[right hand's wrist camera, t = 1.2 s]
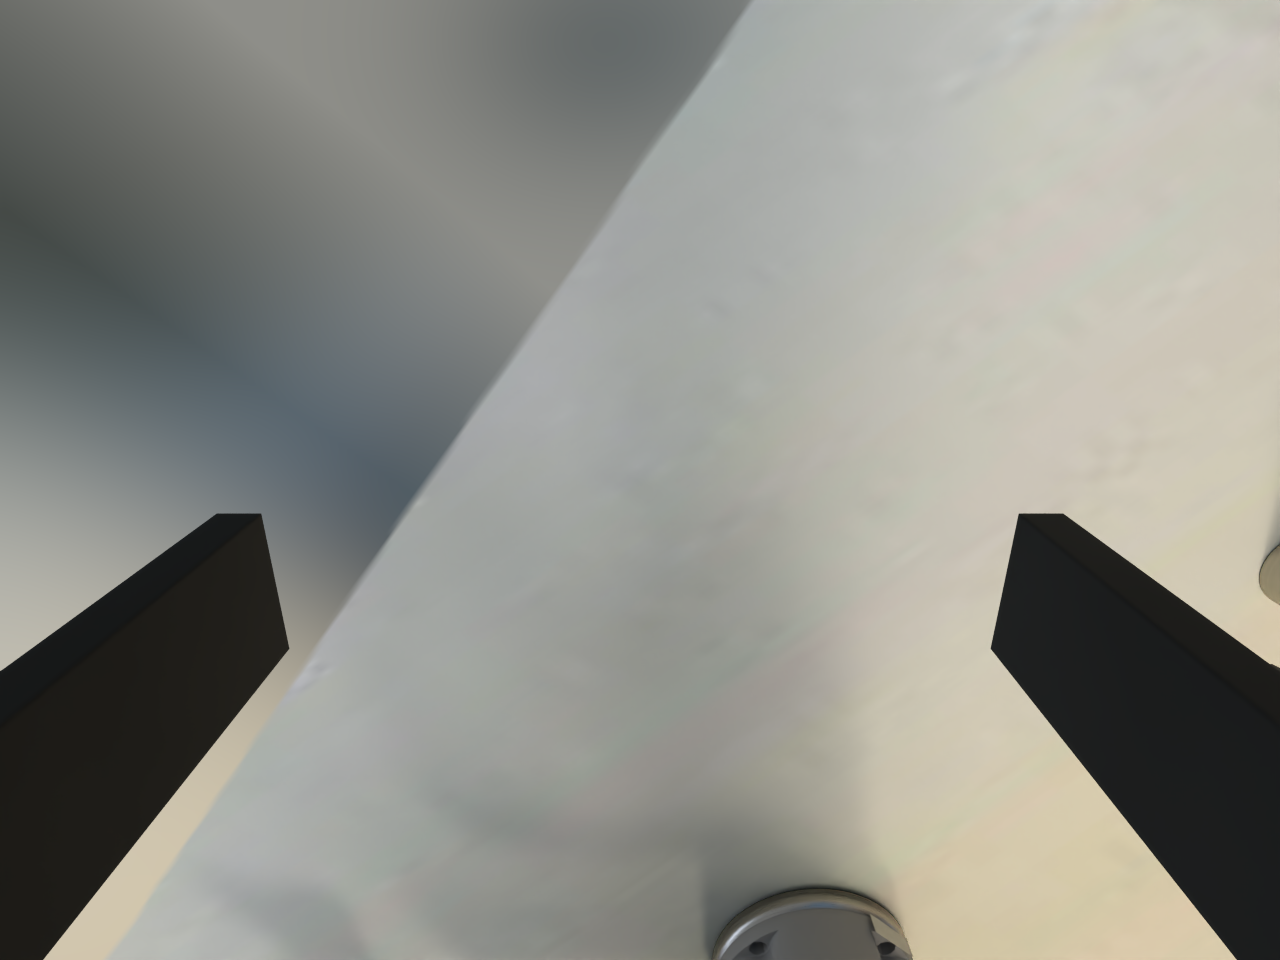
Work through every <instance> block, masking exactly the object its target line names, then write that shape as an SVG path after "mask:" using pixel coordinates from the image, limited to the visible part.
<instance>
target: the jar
mask: <svg viewBox="0 0 1280 960" xmlns="http://www.w3.org/2000/svg"><path fill="white" fill-rule="evenodd" d="M1260 586H1261V589H1262V591H1263V592H1264V594H1265V595H1266V596H1267V597H1268V598H1269V599H1271V600H1272V601H1274V602H1275V603H1277V604H1279V605H1280V545H1279V546H1278V547H1277V548H1276V549H1274V550H1273V551H1272V553H1271V554H1270V555H1269V556H1268V557H1267V559H1266V560H1265V562H1264V564H1263V566H1262V569H1261V572H1260Z"/></svg>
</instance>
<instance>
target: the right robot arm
mask: <svg viewBox="0 0 1280 960" xmlns="http://www.w3.org/2000/svg"><path fill="white" fill-rule="evenodd" d="M288 650H289V645H288V640H287V635H286V631H285V626H284V621H283V616H282V611H281V607H280V602H279V597H278V592H277V587H276V583H275V578H274V573H273V568H272V564H271V559H270V554H269V549H268V544H267V540H266V535H265V530H264V525H263V520H262V515H261V514H216V515H214V516H213V517H212V518H210V519H209V520H208V521H206V522H205V523H203V524H202V525H201V526H199V527H198V528H197V529H195V530H194V531H192V532H191V533H190V534H188V535H187V536H186V537H184V538H183V539H181V540H180V541H179V542H177V543H176V544H175V545H173V546H172V547H170V548H169V549H168V550H166V551H165V552H164V553H162V554H161V555H159V556H158V557H157V558H155V559H154V560H153V561H151V562H150V563H148V564H147V565H146V566H144V567H143V568H142V569H140V570H139V571H137V572H136V573H135V574H133V575H132V576H131V577H129V578H128V579H127V580H125V581H124V582H122V583H121V584H120V585H118V586H117V587H116V588H114V589H113V590H111V591H110V592H109V593H107V594H106V595H105V596H103V597H102V598H101V599H99V600H98V601H96V602H95V603H94V604H92V605H91V606H89V607H88V608H87V609H85V610H84V611H83V612H81V613H80V614H79V615H77V616H76V617H74V618H73V619H72V620H70V621H69V622H67V623H66V624H65V625H63V626H62V627H61V628H59V629H58V630H57V631H55V632H54V633H52V634H51V635H50V636H48V637H47V638H46V639H44V640H43V641H41V642H40V643H39V644H37V645H36V646H35V647H33V648H32V649H30V650H29V651H28V652H26V653H25V654H24V655H22V656H21V657H20V658H18V659H17V660H15V661H14V662H13V663H11V664H10V665H8V666H7V667H6V668H4V669H3V670H1V671H0V960H43V959H44V958H45V957H46V955H47V954H48V953H49V952H50V950H51V949H52V948H53V947H54V945H55V944H56V943H57V941H58V940H59V939H60V938H61V936H62V935H63V934H64V933H65V931H66V930H67V929H68V928H69V926H70V925H71V924H72V923H73V921H74V920H75V919H76V918H77V916H78V915H79V914H80V912H81V911H82V910H83V909H84V907H85V906H86V905H87V904H88V902H89V901H90V900H91V899H92V897H93V896H94V895H95V893H96V892H97V891H98V890H99V888H100V887H101V886H102V885H103V883H104V882H105V881H106V880H107V878H108V877H109V876H110V875H111V873H112V872H113V871H114V870H115V868H116V867H117V866H118V864H119V863H120V862H121V861H122V859H123V858H124V857H125V856H126V854H127V853H128V852H129V851H130V849H131V848H132V847H133V845H134V844H135V843H136V842H137V840H138V839H139V838H140V837H141V835H142V834H143V833H144V831H145V830H146V829H147V828H148V826H149V825H150V824H151V823H152V821H153V820H154V819H155V818H156V816H157V815H158V814H159V813H160V811H161V810H162V809H163V807H164V806H165V805H166V804H167V803H168V801H169V800H170V799H171V797H172V796H173V795H174V794H175V792H176V791H177V790H178V789H179V787H180V786H181V785H182V784H183V782H184V781H185V780H186V779H187V777H188V776H189V775H190V773H191V772H192V771H193V770H194V768H195V767H196V766H197V765H198V763H199V762H200V761H201V760H202V758H203V757H204V756H205V754H206V753H207V752H208V751H209V749H210V748H211V747H212V746H213V744H214V743H215V742H216V741H217V739H218V738H219V737H220V736H221V734H222V733H223V732H224V730H225V729H226V728H227V727H228V725H229V724H230V723H231V722H232V720H233V719H234V718H235V717H236V715H237V714H238V713H239V712H240V710H241V709H242V708H243V706H244V705H245V704H246V703H247V701H248V700H249V699H250V698H251V696H252V695H253V694H254V693H255V691H256V690H257V689H258V688H259V686H260V685H261V684H262V682H263V681H264V680H265V679H266V677H267V676H268V675H269V674H270V672H271V671H272V670H273V669H274V667H275V666H276V665H277V664H278V662H279V661H280V660H281V658H282V657H283V656H284V655H285V653H286V652H287V651H288ZM991 650H992V651H993V652H994V653H995V655H996V656H997V657H998V658H999V660H1000V661H1001V662H1002V664H1003V665H1004V666H1005V667H1006V669H1007V670H1008V671H1009V672H1010V674H1011V675H1012V676H1013V677H1014V679H1015V680H1016V681H1017V682H1018V684H1019V685H1020V686H1021V688H1022V689H1023V690H1024V691H1025V693H1026V694H1027V695H1028V696H1029V698H1030V699H1031V700H1032V701H1033V703H1034V704H1035V705H1036V706H1037V708H1038V709H1039V710H1040V712H1041V713H1042V714H1043V715H1044V717H1045V718H1046V719H1047V720H1048V722H1049V723H1050V724H1051V725H1052V727H1053V728H1054V729H1055V730H1056V732H1057V733H1058V734H1059V736H1060V737H1061V738H1062V739H1063V741H1064V742H1065V743H1066V744H1067V746H1068V747H1069V748H1070V749H1071V751H1072V752H1073V753H1074V754H1075V756H1076V757H1077V758H1078V760H1079V761H1080V762H1081V763H1082V765H1083V766H1084V767H1085V768H1086V770H1087V771H1088V772H1089V773H1090V775H1091V776H1092V777H1093V779H1094V780H1095V781H1096V782H1097V784H1098V785H1099V786H1100V787H1101V789H1102V790H1103V791H1104V792H1105V794H1106V795H1107V796H1108V797H1109V799H1110V800H1111V801H1112V803H1113V804H1114V805H1115V806H1116V808H1117V809H1118V810H1119V811H1120V813H1121V814H1122V815H1123V816H1124V818H1125V819H1126V820H1127V821H1128V823H1129V824H1130V825H1131V827H1132V828H1133V829H1134V830H1135V832H1136V833H1137V834H1138V835H1139V837H1140V838H1141V839H1142V840H1143V842H1144V843H1145V844H1146V845H1147V847H1148V848H1149V849H1150V851H1151V852H1152V853H1153V854H1154V856H1155V857H1156V858H1157V859H1158V861H1159V862H1160V863H1161V864H1162V866H1163V867H1164V868H1165V870H1166V871H1167V872H1168V873H1169V875H1170V876H1171V877H1172V878H1173V880H1174V881H1175V882H1176V883H1177V885H1178V886H1179V887H1180V888H1181V890H1182V891H1183V892H1184V894H1185V895H1186V896H1187V897H1188V899H1189V900H1190V901H1191V902H1192V904H1193V905H1194V906H1195V907H1196V909H1197V910H1198V911H1199V912H1200V914H1201V915H1202V916H1203V918H1204V919H1205V920H1206V921H1207V923H1208V924H1209V925H1210V926H1211V928H1212V929H1213V930H1214V931H1215V933H1216V934H1217V935H1218V936H1219V938H1220V939H1221V940H1222V942H1223V943H1224V944H1225V945H1226V947H1227V948H1228V949H1229V950H1230V952H1231V953H1232V954H1233V955H1234V957H1235V958H1236V959H1237V960H1280V668H1279V667H1277V666H1275V665H1273V664H1269V663H1267V662H1266V661H1265V660H1263V659H1262V658H1261V657H1259V656H1258V655H1256V654H1255V653H1254V652H1252V651H1251V650H1250V649H1248V648H1247V647H1245V646H1244V645H1243V644H1241V643H1240V642H1239V641H1237V640H1236V639H1234V638H1233V637H1232V636H1230V635H1229V634H1228V633H1226V632H1225V631H1223V630H1222V629H1221V628H1219V627H1218V626H1217V625H1215V624H1214V623H1213V622H1211V621H1210V620H1208V619H1207V618H1206V617H1204V616H1203V615H1202V614H1200V613H1199V612H1197V611H1196V610H1195V609H1193V608H1192V607H1191V606H1189V605H1188V604H1186V603H1185V602H1184V601H1182V600H1181V599H1180V598H1178V597H1177V596H1175V595H1174V594H1173V593H1171V592H1170V591H1169V590H1167V589H1166V588H1164V587H1163V586H1162V585H1160V584H1159V583H1158V582H1156V581H1155V580H1153V579H1152V578H1151V577H1149V576H1148V575H1147V574H1145V573H1144V572H1143V571H1141V570H1140V569H1138V568H1137V567H1136V566H1134V565H1133V564H1132V563H1130V562H1129V561H1127V560H1126V559H1125V558H1123V557H1122V556H1121V555H1119V554H1118V553H1116V552H1115V551H1114V550H1112V549H1111V548H1110V547H1108V546H1107V545H1105V544H1104V543H1103V542H1101V541H1100V540H1099V539H1097V538H1096V537H1094V536H1093V535H1092V534H1090V533H1089V532H1088V531H1086V530H1085V529H1083V528H1082V527H1081V526H1079V525H1078V524H1077V523H1075V522H1074V521H1073V520H1071V519H1070V518H1068V517H1067V516H1066V515H1064V514H1019V515H1018V520H1017V525H1016V530H1015V535H1014V539H1013V544H1012V549H1011V554H1010V559H1009V563H1008V568H1007V573H1006V578H1005V583H1004V587H1003V592H1002V597H1001V602H1000V607H999V611H998V616H997V621H996V626H995V631H994V635H993V640H992V645H991ZM912 957H913V956H912V953H911V950H910V947H909V944H908V942H907V939H906V938H905V936H904V933H903V931H902V929H901V927H900V925H899V924H898V922H897V921H896V920H895V919H894V917H893V916H892V915H891V914H890V913H889V912H888V911H886V910H885V909H884V908H882V907H881V906H880V905H878V904H876V903H875V902H873V901H871V900H869V899H867V898H865V897H862V896H859V895H856V894H853V893H849V892H845V891H839V890H831V889H804V890H796V891H791V892H786V893H782V894H778V895H775V896H772V897H769V898H767V899H764V900H762V901H760V902H758V903H756V904H754V905H752V906H750V907H749V908H747V909H745V910H744V911H743V912H741V913H740V914H739V915H737V916H736V917H735V918H734V919H733V920H732V921H731V922H730V923H729V924H728V925H727V926H726V927H725V929H724V930H723V931H722V933H721V935H720V936H719V938H718V940H717V942H716V945H715V948H714V952H713V959H712V960H913V959H912Z"/></svg>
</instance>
